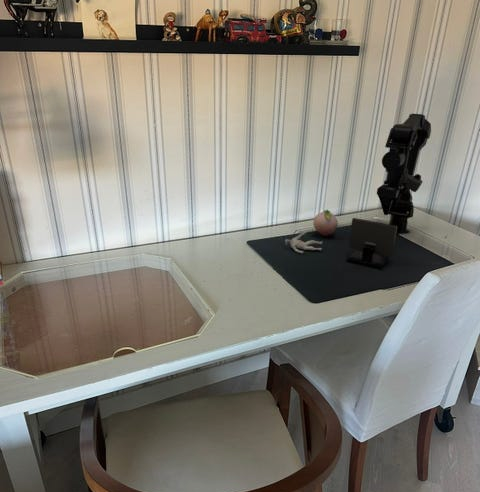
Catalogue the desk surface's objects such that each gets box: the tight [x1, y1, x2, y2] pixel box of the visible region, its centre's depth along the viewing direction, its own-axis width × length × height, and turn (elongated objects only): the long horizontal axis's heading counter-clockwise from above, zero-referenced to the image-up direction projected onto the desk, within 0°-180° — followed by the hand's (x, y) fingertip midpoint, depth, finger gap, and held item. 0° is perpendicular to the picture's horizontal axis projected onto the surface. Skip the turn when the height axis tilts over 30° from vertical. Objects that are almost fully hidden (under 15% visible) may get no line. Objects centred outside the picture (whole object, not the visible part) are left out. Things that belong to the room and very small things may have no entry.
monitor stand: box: [346, 245, 390, 270], centre depth 157 cm, size 8×11×5 cm
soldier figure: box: [284, 231, 323, 254], centre depth 165 cm, size 8×5×12 cm
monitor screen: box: [348, 217, 397, 258], centre depth 155 cm, size 2×14×10 cm, turn 59°
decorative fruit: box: [313, 209, 339, 237], centre depth 176 cm, size 9×8×10 cm
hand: (389, 211), depth 166 cm, fingers open, 9 cm apart
